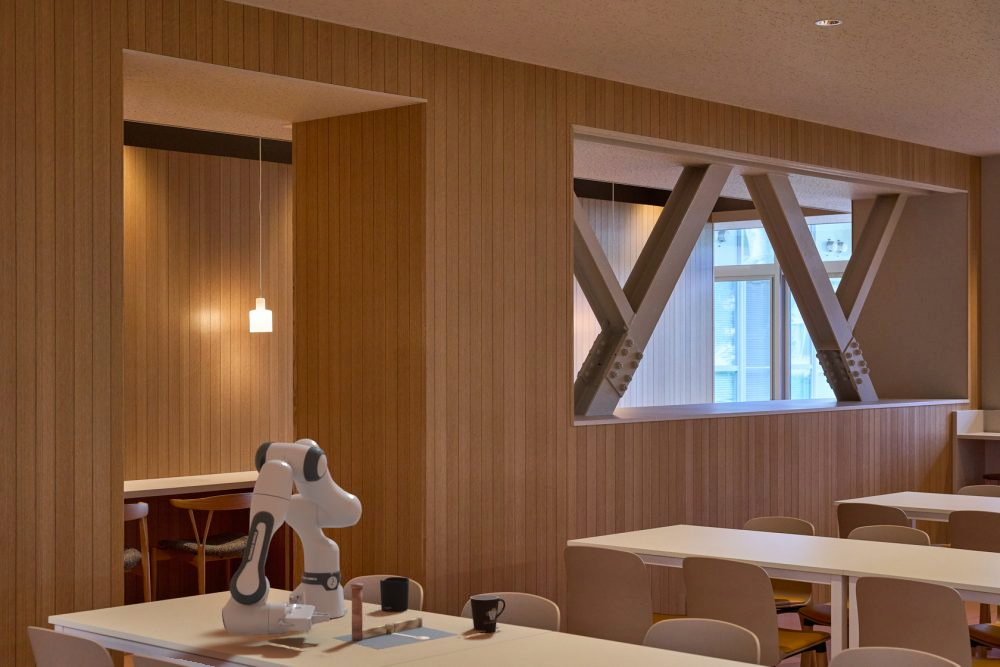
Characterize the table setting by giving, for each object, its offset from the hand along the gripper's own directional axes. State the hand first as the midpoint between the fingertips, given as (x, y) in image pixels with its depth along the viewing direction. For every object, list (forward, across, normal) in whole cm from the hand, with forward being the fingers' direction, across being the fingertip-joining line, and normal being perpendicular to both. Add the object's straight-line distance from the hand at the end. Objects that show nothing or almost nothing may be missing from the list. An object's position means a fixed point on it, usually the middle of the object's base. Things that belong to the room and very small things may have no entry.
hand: (329, 617), depth 355 cm
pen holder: (+18, +52, +8) cm, 56 cm away
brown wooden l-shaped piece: (+11, +3, +6) cm, 13 cm away
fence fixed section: (+21, +14, +7) cm, 26 cm away
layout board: (+19, +4, +7) cm, 21 cm away
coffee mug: (+47, +13, +8) cm, 49 cm away
